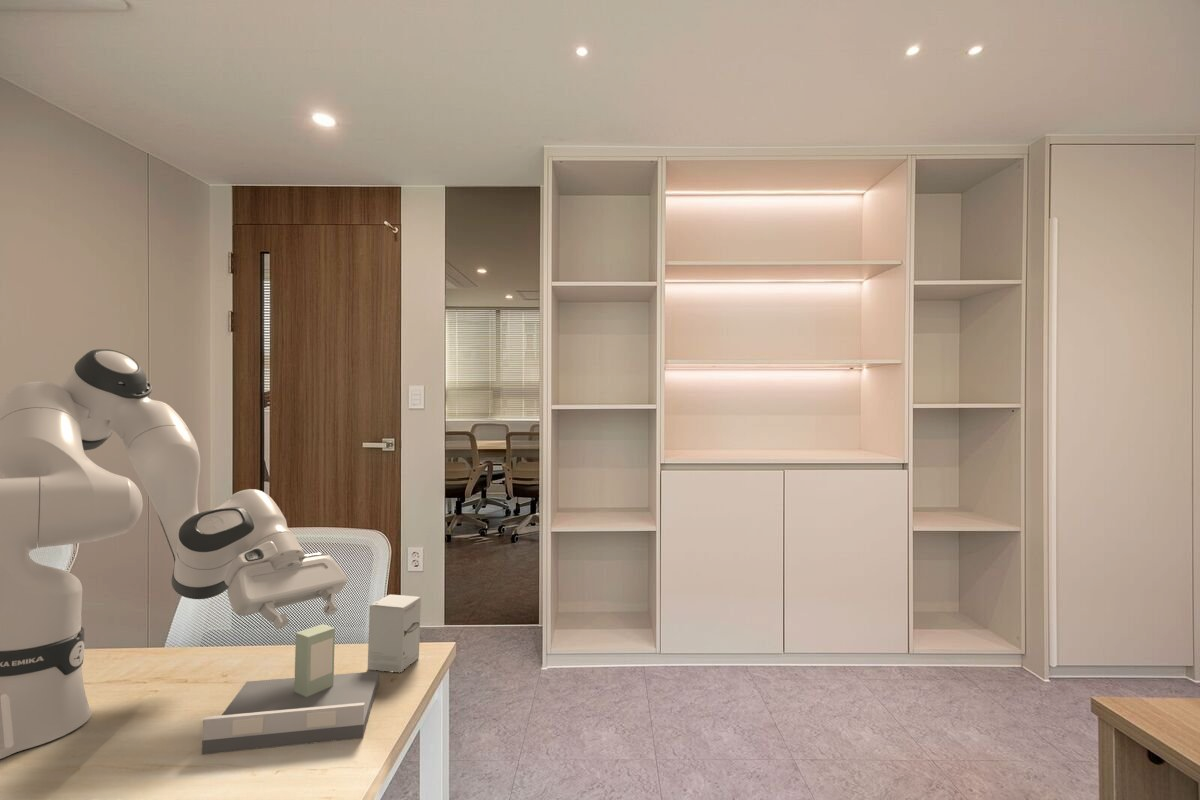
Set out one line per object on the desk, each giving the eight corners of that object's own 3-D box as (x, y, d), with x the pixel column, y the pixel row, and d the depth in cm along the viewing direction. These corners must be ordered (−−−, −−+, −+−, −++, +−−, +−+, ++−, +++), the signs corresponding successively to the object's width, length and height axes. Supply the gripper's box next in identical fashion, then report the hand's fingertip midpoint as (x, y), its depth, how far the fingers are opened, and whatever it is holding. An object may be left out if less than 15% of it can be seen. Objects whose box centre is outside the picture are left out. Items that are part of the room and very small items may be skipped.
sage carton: (307, 697, 100) (308, 637, 100) (294, 691, 101) (295, 632, 102) (334, 685, 104) (335, 628, 104) (321, 680, 106) (322, 624, 106)
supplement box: (401, 674, 113) (402, 607, 114) (366, 670, 115) (368, 604, 115) (420, 658, 121) (422, 596, 121) (387, 654, 122) (388, 593, 122)
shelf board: (200, 755, 86) (201, 720, 86) (246, 692, 105) (247, 664, 105) (362, 738, 91) (363, 705, 91) (378, 681, 110) (379, 654, 110)
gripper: (320, 562, 122) (351, 616, 116) (213, 581, 104) (243, 647, 98) (334, 540, 120) (366, 594, 114) (228, 557, 102) (259, 622, 96)
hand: (308, 619), depth 106 cm, fingers open, 8 cm apart
